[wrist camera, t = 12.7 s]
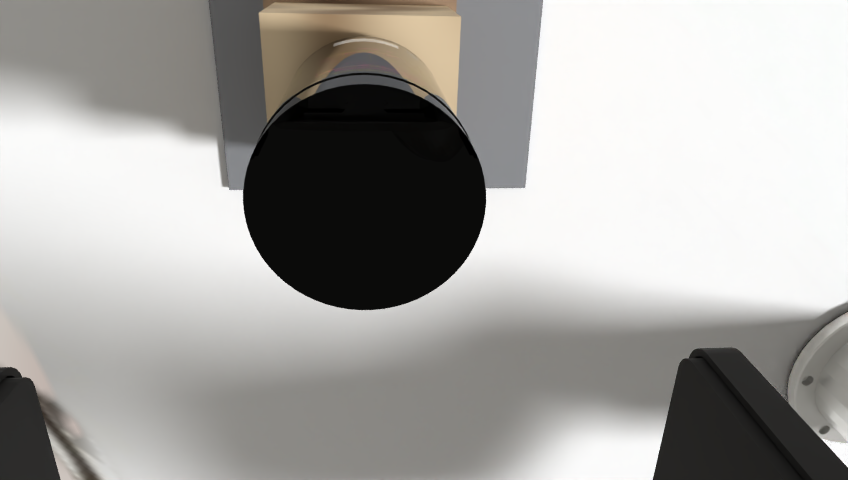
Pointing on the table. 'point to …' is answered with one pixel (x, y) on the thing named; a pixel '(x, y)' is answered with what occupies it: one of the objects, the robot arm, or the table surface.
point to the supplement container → (364, 179)
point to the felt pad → (477, 83)
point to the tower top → (327, 22)
